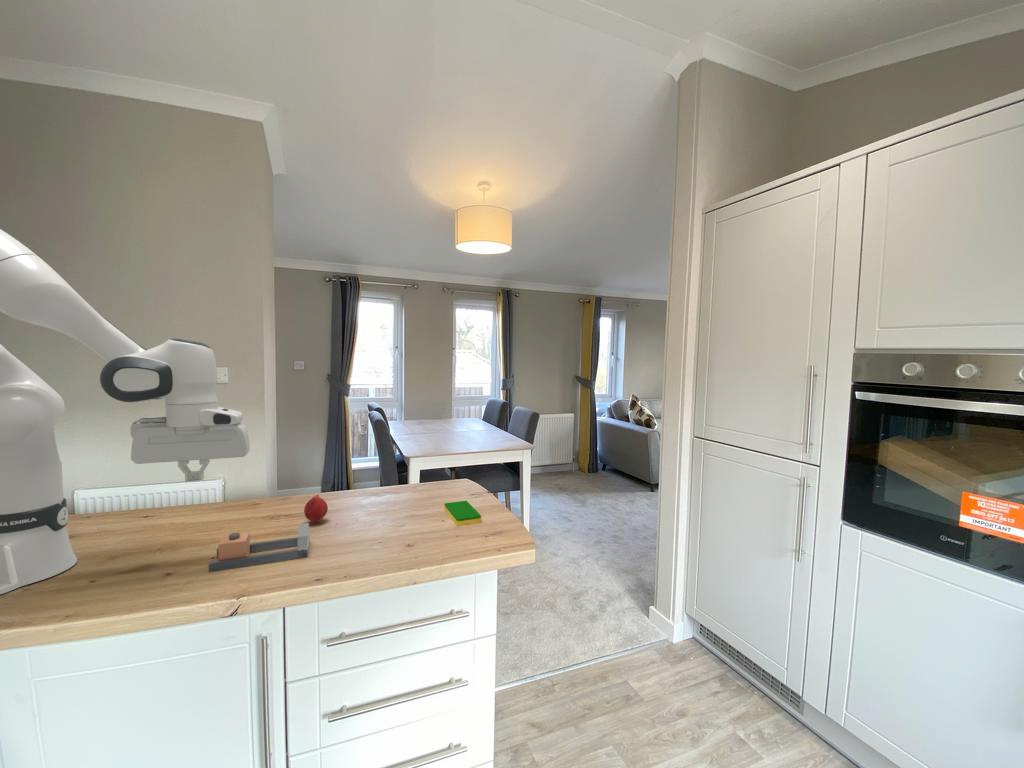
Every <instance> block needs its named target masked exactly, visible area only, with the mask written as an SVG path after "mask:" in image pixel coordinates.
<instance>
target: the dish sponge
mask: <svg viewBox="0 0 1024 768" xmlns="http://www.w3.org/2000/svg"><path fill="white" fill-rule="evenodd" d="M443 509H444V511H445V513H446V514H447V515H448V517H450V518H449V519H451V520H452V521H453V523H454V524H455V526H456V527H462V526H469V525H473V524H475V525H476V524H481V523H482V515H481V514H480V513H479V512H478V511H477V509H476V508H474V507H473V506H472V505H471V504H470V503H469V501H468V500H460V501H459V500H458V501H453V502H452V501H451V502H445V503H444V508H443Z"/></svg>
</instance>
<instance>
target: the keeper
mask: <svg viewBox="0 0 1024 768" xmlns="http://www.w3.org/2000/svg"><path fill="white" fill-rule="evenodd" d="M250 539H251V538H250V531H249V532H233V533H230V534H224V535H223V536H222V538H221V539H220V541H219V543H218V545H217V546H218V547H217V548H218V550H219V557H218V560H225V559H232V558H239V557H246V556H250V555H251V553H250V543H251V542H250Z"/></svg>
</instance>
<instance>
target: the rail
mask: <svg viewBox="0 0 1024 768" xmlns="http://www.w3.org/2000/svg"><path fill="white" fill-rule="evenodd" d="M309 546H310V522H305V523H299V526H298V533H297V536H295V537H289V538H281V539H273V540H267V541H258V542H250V554H253V553H258V552H259V553H260V552H266V551H272V550H278V549H280V550H281V549H285V548H291V547H297V548H296V549H295V548H294V549H289V550H281V551H275V552H268V553H261V554H253V555H249V556H246V557H239V558H232V559H225V560H219V559H218V560H213V561H212V560H211V561H209V563H208V573H211V572H218V571H219V572H220V571H225V570H232V569H237V568H245V567H251V566H258V565H265V564H270V563H276V562H283V561H289V560H291V561H292V560H297V559H303V558H308V557H309ZM216 558H219V550H218V547H217V549H216Z"/></svg>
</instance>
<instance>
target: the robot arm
mask: <svg viewBox="0 0 1024 768" xmlns="http://www.w3.org/2000/svg"><path fill="white" fill-rule="evenodd" d="M0 312H1V313H2V314H5V315H7V316H9V317H10V318H12V319H15V320H17V321H21V322H23V323H28V324H32V325H36V326H39V327H43V328H46V329H50V330H53V331H56V332H59V333H61V334H64V335H67V336H69V337H71V338H72V339H74V340H76V341H77V342H79V343H81V344H83V346H85V347H86V348H88V349H89V350H91V352H94V354H96V355H98V357H100V358H101V359H103V360H104V361H105V362H107V363H106V364H105V365H104V366H103V368H102V369H101V372H100V374H99V375H100V376H99V383H100V386H101V389H102V390H103V391H104V392H105V393H106V394H107V395H108V396H109V397H111V399H114V400H116V401H120V402H123V403H132V404H139V403H144V402H148V401H149V402H150V401H153V400H163V399H164V401H165V402H164V403H165V416H158V417H140V418H139V419H137V420H135V421H134V422H132V423H131V425H130V436H131V438H132V443H131V451H130V460H131V461H132V462H133V463H134V464H135V465H136V464H137V465H143V464H156V463H157V464H158V463H171V462H175V463H176V462H177V467H178V468H179V470H181V472H182V473H183V474H184V481H185V482H196V481H199V482H200V481H203V480H204V479H205V472H204V471H205V470H206V468H207V467H208V466H209V464H210V462H211V461H210V460H217V459H232V458H243V457H246V456H247V455H248V454H249V452H250V449H251V446H250V437H249V432H248V429H247V426H246V425H245V424H244V423H243V422H241V421H243V416H244V415H243V412H241V411H240V410H234V409H231V408H226V407H222V406H219V405H218V404H219V402H218V400H219V399H218V397H217V394H216V387H217V382H218V376H217V375H218V374H217V372H218V371H217V363H216V362H217V361H216V357H215V353H214V351H213V349H212V348H211V347H210V345H207V344H206V343H204V342H199V341H193V340H189V339H181V338H169V339H167V340H166V341H165V342H162V343H161V344H159V345H156V346H154V347H152V348H151V347H150V349H149V348H148V349H147V348H144V347H143V346H141V345H140V344H138V343H137V342H136V341H135V340H134V339H132V338H131V337H129V336H128V335H127V334H125V333H124V331H122V330H121V329H119V328H118V327H116V326H115V325H114V324H113V323H111V322H110V321H109V320H107V319H106V318H105V317H104V316H102V315H101V314H100V313H99V312H97V311H96V309H94V308H93V306H92V305H90V304H89V303H88V302H87V301H86V300H85V299H84V298H83V297H82V296H81V295H80V294H79V293H78V292H77V291H76V290H75V289H74V288H73V287H72V286H71V284H70V283H68V282H67V281H66V280H65V279H64V278H63V277H62V276H61V275H60V274H59V273H58V272H56V271H55V269H53V268H52V267H51V266H50V265H49V264H48V263H47V262H46V261H44V259H42V258H41V257H39V256H38V255H37V254H36V253H35V252H34V251H32V250H31V249H30V248H29V247H27V246H26V245H25V244H23V243H22V242H20V241H19V240H17V239H16V238H15V237H13V236H12V235H11V234H9V233H7V232H6V231H4V230H2V229H1V228H0ZM65 410H66V405H65V401H64V399H63V397H62V396H61V395H60V394H59V393H58V392H57V391H56V390H55V389H54V388H53V387H52V386H51V385H49V384H48V383H47V382H46V381H45V380H43V378H42V377H40V376H39V375H38V374H37V373H35V372H34V371H33V370H32V369H31V368H29V367H28V365H26V364H24V363H23V362H22V361H21V360H20V359H18V358H17V357H16V356H15V355H14V354H12V353H11V352H10V351H9V350H7V348H6V347H4V346H3V344H1V343H0V595H2V594H3V595H4V594H5V593H8V592H11V591H13V590H15V589H19V588H20V587H24V586H27V585H30V584H33V583H36V582H41V581H43V580H46V579H49V578H52V577H54V576H56V575H59V574H61V573H64V572H65V571H67V570H69V569H70V568H73V566H74V565H75V564H76V563H78V557H77V556H76V554H75V552H74V549H73V548H72V547H73V546H72V545H71V541H70V538H69V534H68V527H67V525H68V517H69V512H68V505H67V499H66V498H65V497H64V482H63V479H64V478H63V463H62V460H61V458H60V455H59V452H58V451H59V450H58V447H57V441H56V436H55V428H54V427H55V426H56V425H57V424H58V423H59V422H60V421H61V420H62V418H63V417H64V414H65ZM191 461H198V463H199V465H201V466H200V469H199V470H191V469H190V467H189V466H188V465H189V463H190V462H191Z"/></svg>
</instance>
